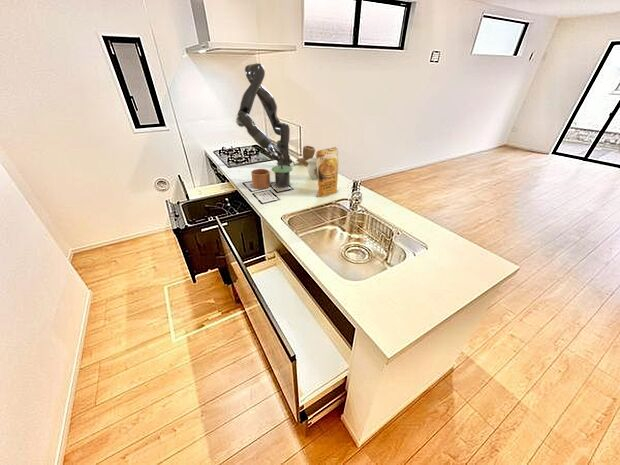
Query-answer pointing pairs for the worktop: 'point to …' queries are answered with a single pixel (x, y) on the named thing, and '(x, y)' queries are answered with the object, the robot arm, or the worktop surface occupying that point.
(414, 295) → the worktop surface
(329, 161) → the pancake mix bag
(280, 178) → the cup
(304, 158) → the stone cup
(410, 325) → the worktop surface
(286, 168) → the lid
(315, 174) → the pitcher
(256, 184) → the clay pot
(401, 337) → the worktop surface
